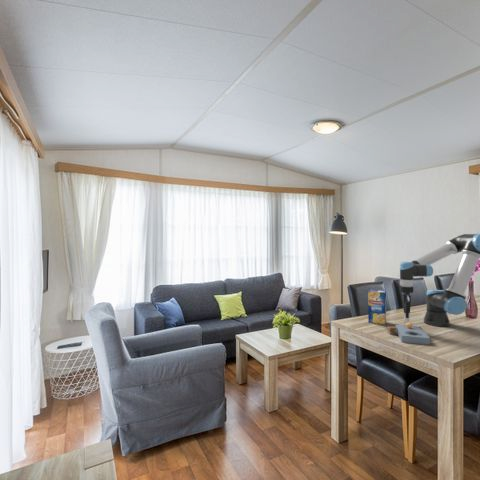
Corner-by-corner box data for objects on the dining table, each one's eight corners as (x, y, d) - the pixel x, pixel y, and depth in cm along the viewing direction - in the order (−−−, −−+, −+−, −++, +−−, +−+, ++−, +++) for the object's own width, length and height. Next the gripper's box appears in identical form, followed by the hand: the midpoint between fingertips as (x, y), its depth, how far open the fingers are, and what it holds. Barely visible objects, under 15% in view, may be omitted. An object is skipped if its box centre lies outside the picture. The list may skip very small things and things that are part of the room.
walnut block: (393, 332, 190) (393, 326, 190) (396, 334, 186) (396, 328, 186) (387, 332, 190) (387, 326, 190) (390, 334, 186) (389, 328, 186)
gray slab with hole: (395, 330, 193) (395, 324, 193) (420, 332, 189) (420, 326, 189) (401, 341, 173) (401, 335, 173) (429, 344, 168) (429, 338, 168)
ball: (411, 327, 187) (411, 321, 187) (413, 329, 184) (413, 323, 184) (405, 327, 189) (405, 321, 189) (406, 328, 185) (406, 323, 185)
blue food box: (385, 324, 207) (385, 292, 206) (368, 322, 212) (368, 291, 212) (386, 321, 213) (386, 290, 212) (369, 319, 218) (369, 289, 218)
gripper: (398, 284, 201) (398, 319, 201) (401, 287, 189) (402, 325, 189) (411, 284, 198) (411, 320, 199) (415, 287, 186) (415, 326, 186)
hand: (406, 322), depth 194 cm, fingers closed
